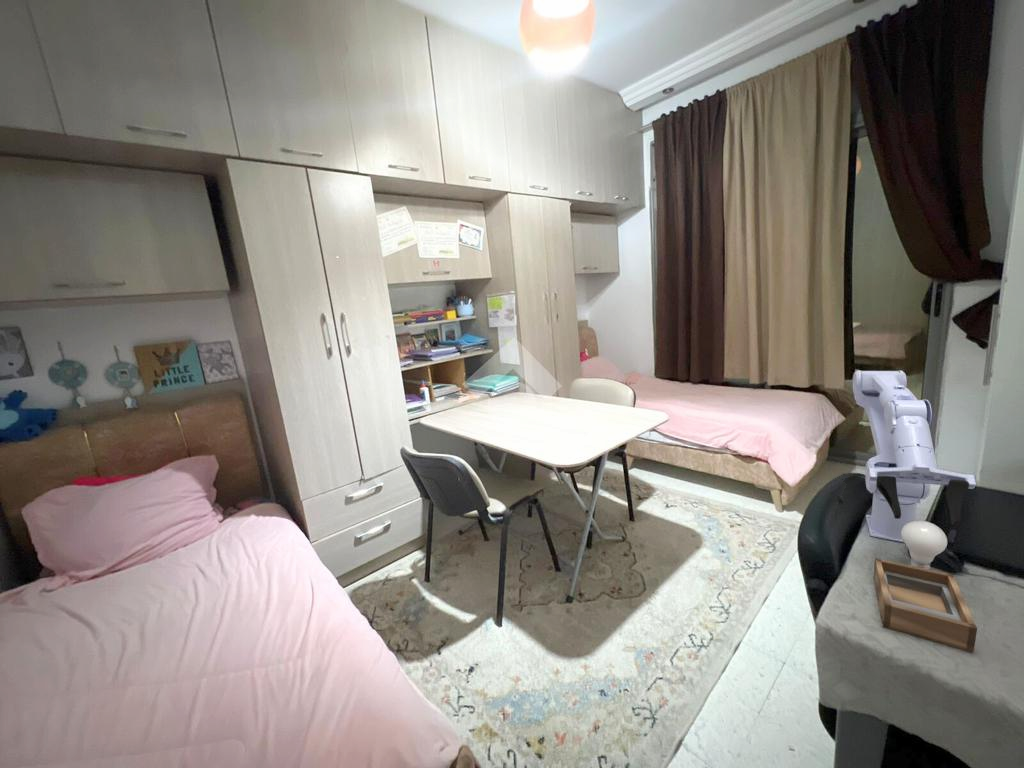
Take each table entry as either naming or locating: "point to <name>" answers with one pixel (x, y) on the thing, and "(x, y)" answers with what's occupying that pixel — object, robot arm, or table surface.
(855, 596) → the table surface
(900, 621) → the socket box
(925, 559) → the lightbulb
